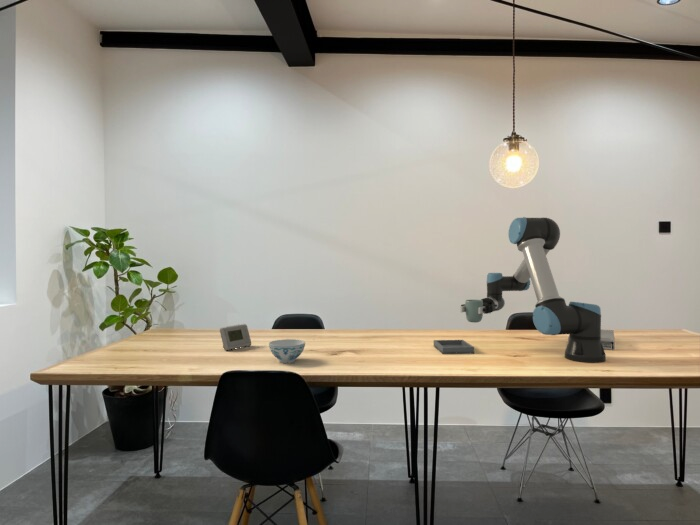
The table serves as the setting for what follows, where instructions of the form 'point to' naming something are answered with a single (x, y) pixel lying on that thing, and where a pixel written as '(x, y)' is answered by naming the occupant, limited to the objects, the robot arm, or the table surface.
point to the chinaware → (287, 349)
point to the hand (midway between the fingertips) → (470, 310)
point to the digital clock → (235, 336)
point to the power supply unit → (607, 339)
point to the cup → (473, 310)
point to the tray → (453, 347)
